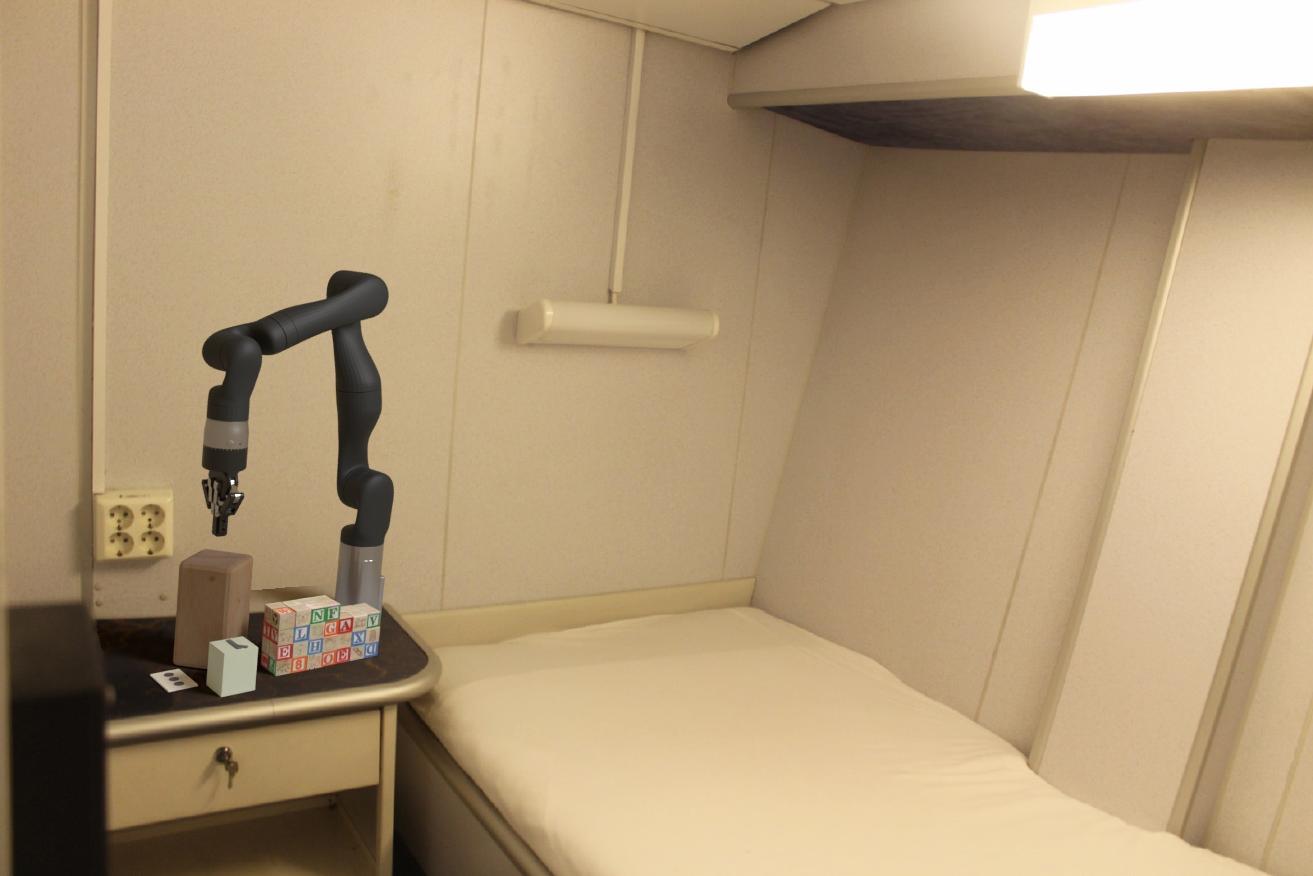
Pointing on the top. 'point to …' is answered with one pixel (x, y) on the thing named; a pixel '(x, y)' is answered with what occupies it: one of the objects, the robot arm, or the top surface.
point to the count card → (173, 680)
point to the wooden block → (211, 603)
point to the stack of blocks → (317, 634)
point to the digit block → (232, 666)
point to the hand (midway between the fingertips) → (219, 535)
